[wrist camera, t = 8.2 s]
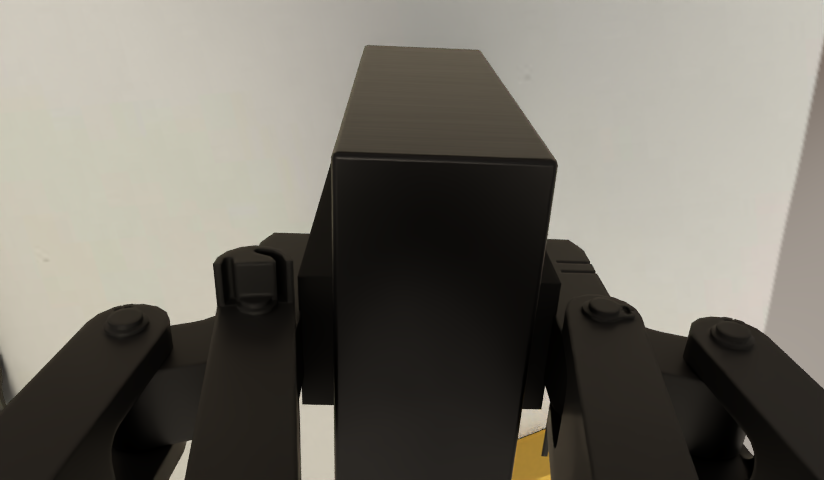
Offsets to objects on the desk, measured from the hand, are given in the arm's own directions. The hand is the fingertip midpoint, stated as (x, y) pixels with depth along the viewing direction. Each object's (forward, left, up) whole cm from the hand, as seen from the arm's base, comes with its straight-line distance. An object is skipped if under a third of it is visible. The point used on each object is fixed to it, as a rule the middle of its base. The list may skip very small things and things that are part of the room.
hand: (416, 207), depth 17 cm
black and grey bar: (+3, +5, -1) cm, 5 cm away
